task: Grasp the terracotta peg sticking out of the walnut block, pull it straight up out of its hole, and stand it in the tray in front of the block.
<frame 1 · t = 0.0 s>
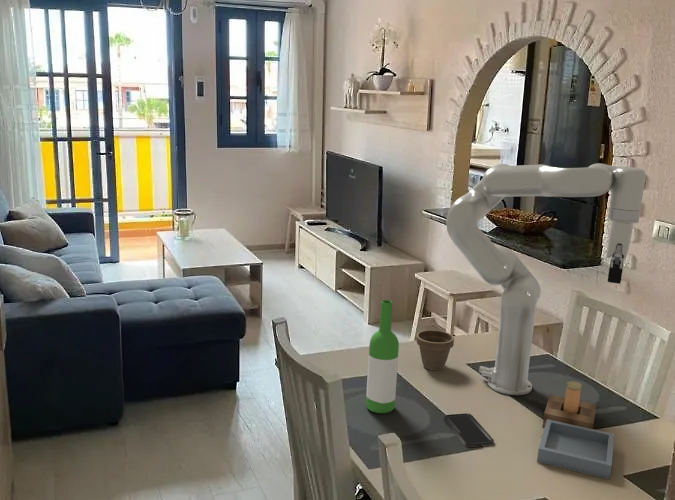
hand: (614, 278, 183), 37 cm above the table, tool pointing down, fingers open, 9 cm apart
flower pot: (432, 367, 213), on the table
tray: (575, 454, 166), on the table
pin block: (568, 422, 181), on the table
peg: (571, 403, 180), in the pin block
wine bottle: (380, 408, 184), on the table
phone: (467, 432, 175), on the table
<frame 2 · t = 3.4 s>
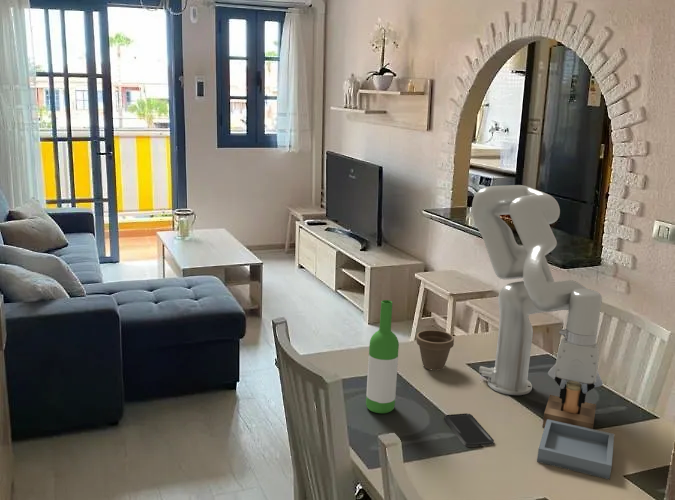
hand: (571, 402, 180), 6 cm above the table, tool pointing down, fingers closed on peg, 3 cm apart
peg: (571, 403, 180), in the pin block, touching gripper
everything else where it was.
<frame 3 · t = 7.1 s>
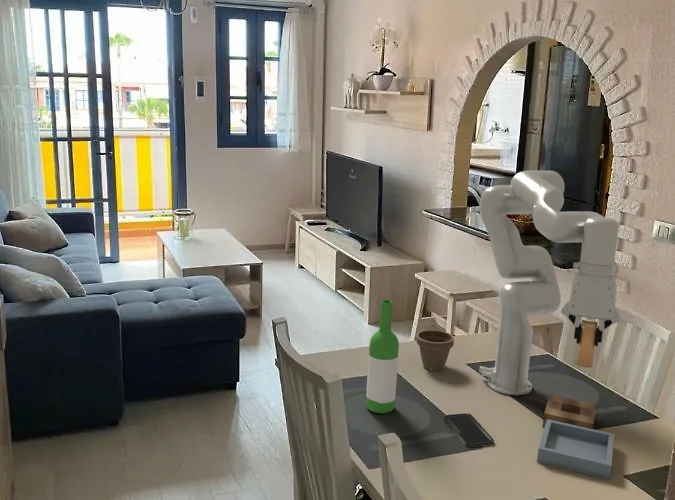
hand: (587, 342, 166), 26 cm above the table, tool pointing down, fingers closed on peg, 3 cm apart
peg: (587, 343, 166), point 26 cm above the table, touching gripper
everything else where it was.
when the fingers open (9 cm above the table, at t = 11.1 s): peg drops 2 cm, resting on tray.
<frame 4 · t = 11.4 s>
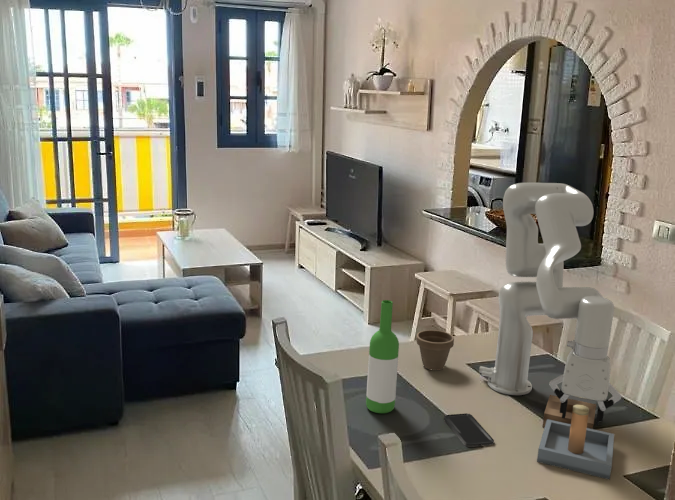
hand: (580, 419, 163), 9 cm above the table, tool pointing down, fingers open, 7 cm apart
peg: (578, 429, 164), in the tray, point 6 cm above the table
everything else where it was.
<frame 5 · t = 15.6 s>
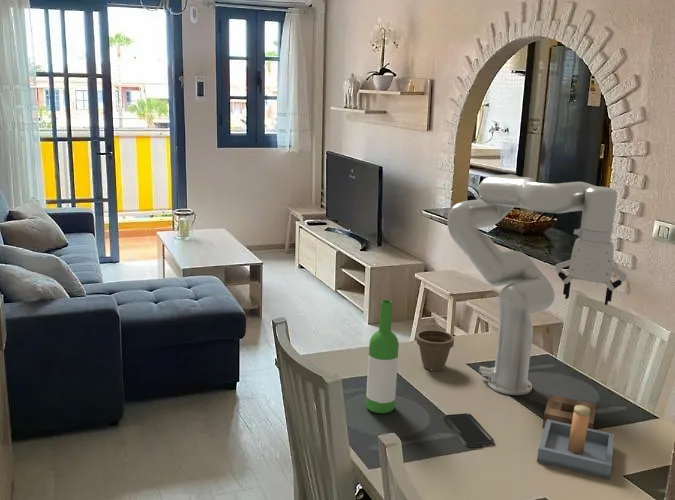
hand: (586, 300, 178), 32 cm above the table, tool pointing down, fingers open, 9 cm apart
nothing on the table moved.
at the end: peg inside the target area on the tray (0.1 cm from its centre), point 6.5 cm above the tray's base; the gripper is holding nothing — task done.
